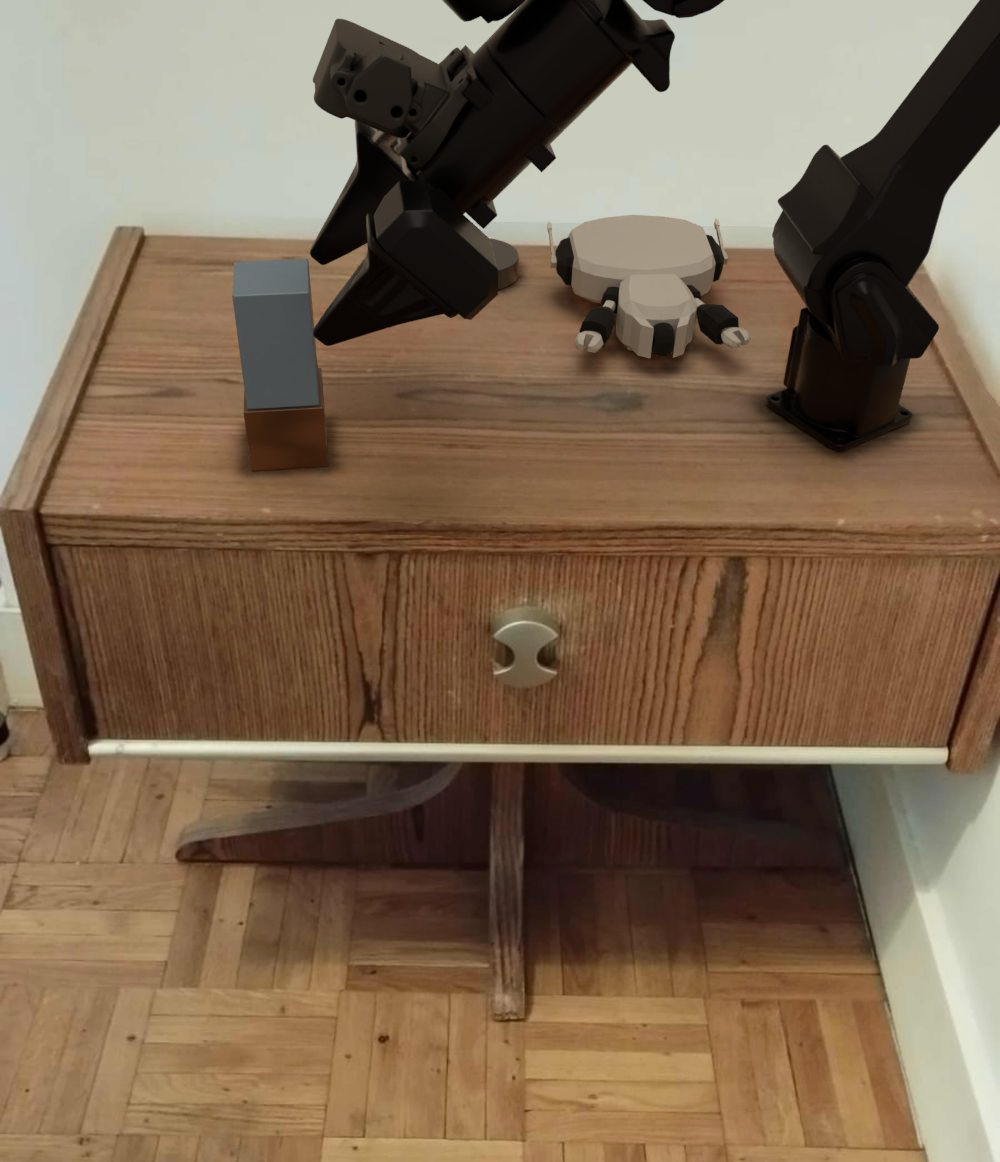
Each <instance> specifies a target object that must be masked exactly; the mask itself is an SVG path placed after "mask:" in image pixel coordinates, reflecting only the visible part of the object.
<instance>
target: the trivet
mask: <svg viewBox="0 0 1000 1162" xmlns="http://www.w3.org/2000/svg"><path fill="white" fill-rule="evenodd" d="M488 238H489V239H490V242H491V245H492V249H493V252H494V256H495V259H496V263H497V266H498V291H499V290H502V289H505V288H507V287H509V286H511V285H512V284H514V283H515V282H516V281H517V279H518V278H519V270H520V269H519V268H520V266H519V265H520V254H519V251H518V249H517V248H516V247H514V246H513V245H511V244H510V243H508V242H506V241H503V240H500V239H496V238H490V237H488Z"/></svg>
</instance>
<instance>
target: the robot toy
mask: <svg viewBox="0 0 1000 1162" xmlns="http://www.w3.org/2000/svg"><path fill="white" fill-rule="evenodd" d="M552 225H553V224H552V222H551V221H548V222H547V226H546V230H547V233H548V240H549V248H550V269H555V270H556V274H557V275H558V276H559V278H560V279H561V281H562V282H563V283H564V285H565V286H568V287H571V288H572V290H573V293H574V295H576V296H578V297H581V298H582V299H585V300H586V301H589V302H591V303H596V304H600V306H596V307H590V308H589V311H588V312H587V314H586V316H585V317H584V319H583V320H582V323H581V325H580V328H579V333H578V334H577V335H576V337H575V339H574V346H575V348H576V349H577V350H580V351H584V349H585V347H586V348H587V351H586V352H588V353H595V354H596V353H597V352H598V351H600V350H601V349H602V348H604V347H605V346H606V344H607V342H608V341H609V339H610V337H611V336H612V334H613V330H614V328H615V334H616V337H617V338H618V340H619V341H620V342H621V343H622V344H623V346H624V347H626V350H628V351H632V352H634V353H635V354H636V355H637V356H639V357H643V358H647V359H651V357H652V354H653V355H654V356H656V357H662V358H665V357H668V356H671V354H672V359H674V358H677V357H679V356H682V355H684V354H685V350H686V347H687V345H688V344H690V343H691V342H692V340H693V336H694V330H695V324H696V320H697V323H698V327H699V331H700V332H701V333H702V334H703V335H704V336H706V337H707V338H708V339H709V340H710V341H711V342H712V343H714V345H723V346H724V347H726V348H729V349H731V350H735V349H740V348H741V346H743V347H745V346H748V345H749V343H750V341H751V336H750V334H749V333H748V331H747V330H746V329H745V328H743V327H740V324H739V323H740V322H739V317H738V316H737V315H736V314H735V313H733V312H732V311H731V310H729V309H728V308H727V307H726V306H725V305H724V304H714V303H705V302H703V301H702V296H704V295H705V294H707V293H709V291H710V290H711V287H712V284H713V283H714V282H717V281H719V280H720V278H721V275H722V273H723V269H724V265H728V261H729V256H728V252H725V246H724V241H723V237H722V233H721V227H720V225H721V224H720V220H719V219H718V218H714V222H713V227H714V230H715V231H716V236H717V241H716V239H715V238H714V237H713V236H712V235H710V234H706V231H705V229H704V226H701V225H699V224H696V223H694V222H691V221H689V220H687V219H683V218H677V217H669V216H660V215H644V214H627V215H618V216H617V215H616V216H607V217H601V218H597V219H596V218H595V219H591V220H587V221H584V222H582V223H580V224H578V225H577V226H576V227H573V228H572V229H571V230H570V232H569V234H568V235H567V237H566V238H563V239H561V240H560V241H559V243H558V246H557V247H556V250H555V247H554V246H555V245H554V240H553V239H554V238H553V226H552ZM717 242H718V243H717ZM615 315H616V317H615ZM696 318H697V319H696Z"/></svg>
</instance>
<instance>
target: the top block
mask: <svg viewBox="0 0 1000 1162" xmlns="http://www.w3.org/2000/svg"><path fill="white" fill-rule="evenodd" d="M309 262H310V261H309V259H308V258H290V259H289V258H287V259H285V258H284V259H266V260H265V259H264V260H245V261H244V260H243V261H240V260H239V261H234V263H233V276H232V277H233V279H232V296H231V298H232V304H233V305H232V306H233V312H234V319H235V328H236V335H237V343H238V352H239V358H240V365H241V373H242V380H243V381H242V382H243V389H245V397H246V405H247V409H264V408H282V407H299V406H317V405H319V384H318V368H319V367H318V356H317V345H316V344H317V343H316V342H317V341H316V338H315V337H314V335H313V329H314V328H315V321H314V309H313V297H312V287H311V286H312V285H311V275H310V274H311V273H310V265H309V264H310V263H309Z"/></svg>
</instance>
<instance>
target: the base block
mask: <svg viewBox="0 0 1000 1162" xmlns="http://www.w3.org/2000/svg"><path fill="white" fill-rule="evenodd" d="M318 384H319V405H317V406H299V407H282V408H264V409H247V405H246V397H245V389H244V388H243V389H244V391H243V392H244V393H243V419H244V427H245V428H244V429H245V434H246V443H247V450H248V456H249V464H250V470H251V472H255V471H256V472H257V471H258V472H259V471H272V470H287V469H288V470H289V469H304V468H319V467H321V468H322V467H328V466H329V457H328V453H329V451H328V437H327V436H328V435H327V434H328V432H327V420H326V419H327V418H326V417H327V416H326V407H325V396H324V395H325V394H324V383H323V372H322V367H318Z"/></svg>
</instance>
